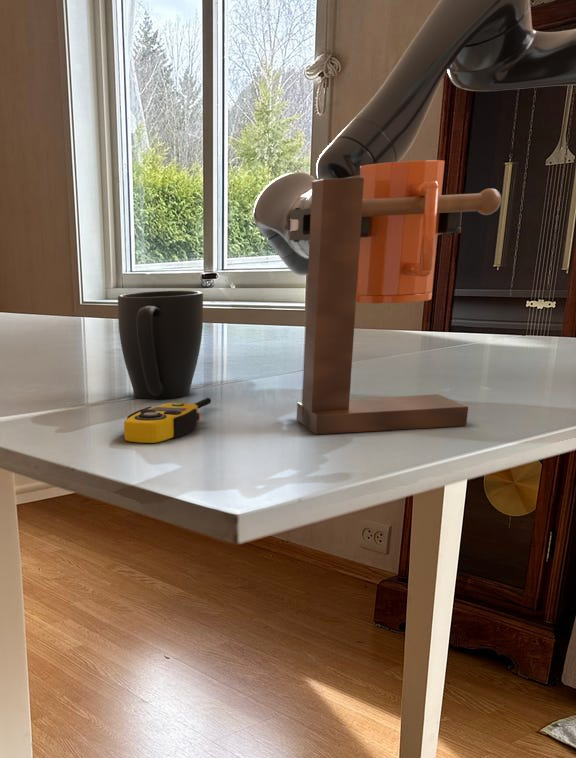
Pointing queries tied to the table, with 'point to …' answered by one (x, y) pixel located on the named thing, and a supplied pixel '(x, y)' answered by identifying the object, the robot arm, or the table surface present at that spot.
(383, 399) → the stand
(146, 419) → the yellow walkie talkie
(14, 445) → the table surface
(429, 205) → the cup
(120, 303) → the mug
